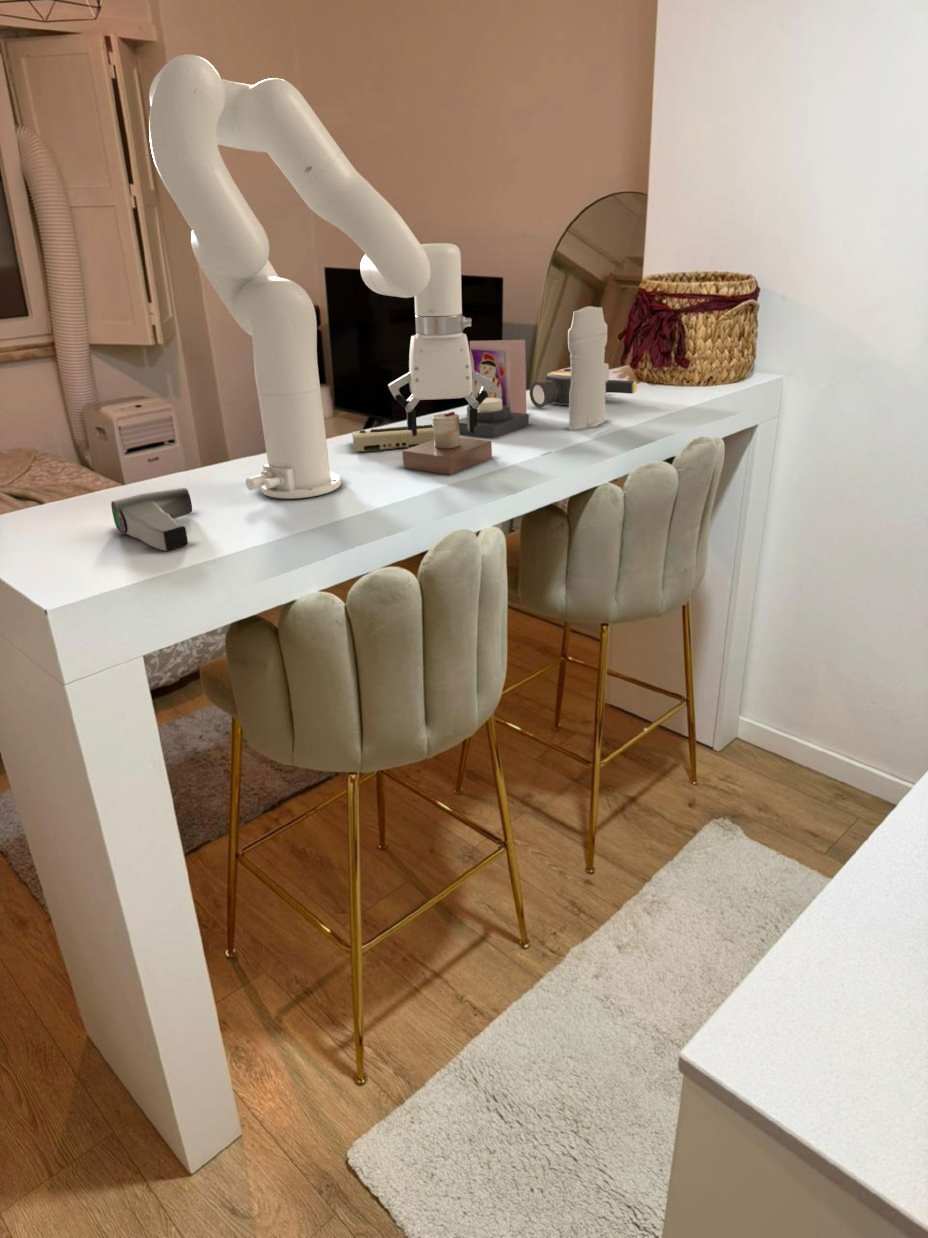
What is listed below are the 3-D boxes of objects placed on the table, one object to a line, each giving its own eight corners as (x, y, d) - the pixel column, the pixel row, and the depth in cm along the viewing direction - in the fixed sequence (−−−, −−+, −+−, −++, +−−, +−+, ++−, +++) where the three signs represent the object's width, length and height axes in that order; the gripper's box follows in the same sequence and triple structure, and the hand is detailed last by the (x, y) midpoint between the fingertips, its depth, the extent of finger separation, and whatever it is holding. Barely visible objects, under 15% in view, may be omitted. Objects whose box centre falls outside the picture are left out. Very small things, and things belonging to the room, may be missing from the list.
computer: (434, 436, 170) (433, 418, 169) (440, 445, 163) (439, 427, 162) (353, 443, 169) (351, 425, 167) (355, 453, 161) (353, 435, 160)
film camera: (574, 420, 181) (528, 408, 192) (642, 400, 190) (594, 390, 201) (573, 386, 178) (526, 375, 189) (642, 367, 187) (594, 359, 198)
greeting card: (469, 415, 186) (466, 341, 180) (495, 409, 190) (492, 336, 184) (508, 422, 178) (506, 345, 172) (533, 415, 183) (532, 340, 176)
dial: (449, 449, 148) (447, 417, 146) (429, 446, 150) (427, 415, 148) (465, 443, 151) (463, 412, 149) (445, 441, 154) (443, 410, 151)
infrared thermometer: (159, 560, 117) (109, 530, 127) (239, 535, 125) (186, 509, 134) (154, 527, 115) (103, 499, 125) (235, 504, 123) (181, 480, 132)
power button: (493, 414, 169) (492, 403, 168) (472, 411, 172) (472, 401, 171) (507, 409, 172) (506, 398, 172) (487, 407, 175) (486, 396, 174)
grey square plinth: (494, 438, 167) (493, 417, 165) (452, 433, 172) (450, 412, 170) (528, 425, 175) (528, 404, 173) (487, 420, 181) (486, 400, 179)
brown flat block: (450, 475, 145) (449, 457, 144) (403, 467, 151) (402, 450, 149) (492, 458, 153) (491, 440, 152) (446, 451, 159) (445, 435, 158)
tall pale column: (576, 431, 168) (577, 309, 159) (560, 429, 171) (560, 308, 162) (613, 421, 174) (615, 303, 165) (597, 419, 177) (598, 302, 168)
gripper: (488, 322, 147) (489, 425, 154) (383, 326, 145) (389, 430, 152) (496, 326, 140) (496, 434, 147) (386, 331, 138) (392, 440, 145)
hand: (442, 432), depth 149 cm, fingers open, 9 cm apart
